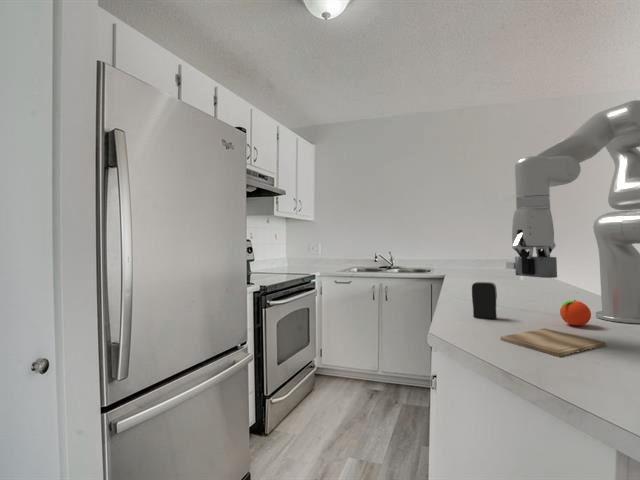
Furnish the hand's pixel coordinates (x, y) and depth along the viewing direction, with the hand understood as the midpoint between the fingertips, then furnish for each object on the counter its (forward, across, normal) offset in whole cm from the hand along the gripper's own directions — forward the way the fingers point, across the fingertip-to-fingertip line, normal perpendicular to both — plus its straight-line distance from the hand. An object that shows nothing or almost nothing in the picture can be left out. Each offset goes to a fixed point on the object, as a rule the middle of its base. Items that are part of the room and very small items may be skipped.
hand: (535, 273), depth 87 cm
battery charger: (+16, -2, -19) cm, 25 cm away
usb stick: (+1, 0, -1) cm, 1 cm away
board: (+16, +5, +7) cm, 18 cm away
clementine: (+16, -15, -1) cm, 22 cm away
